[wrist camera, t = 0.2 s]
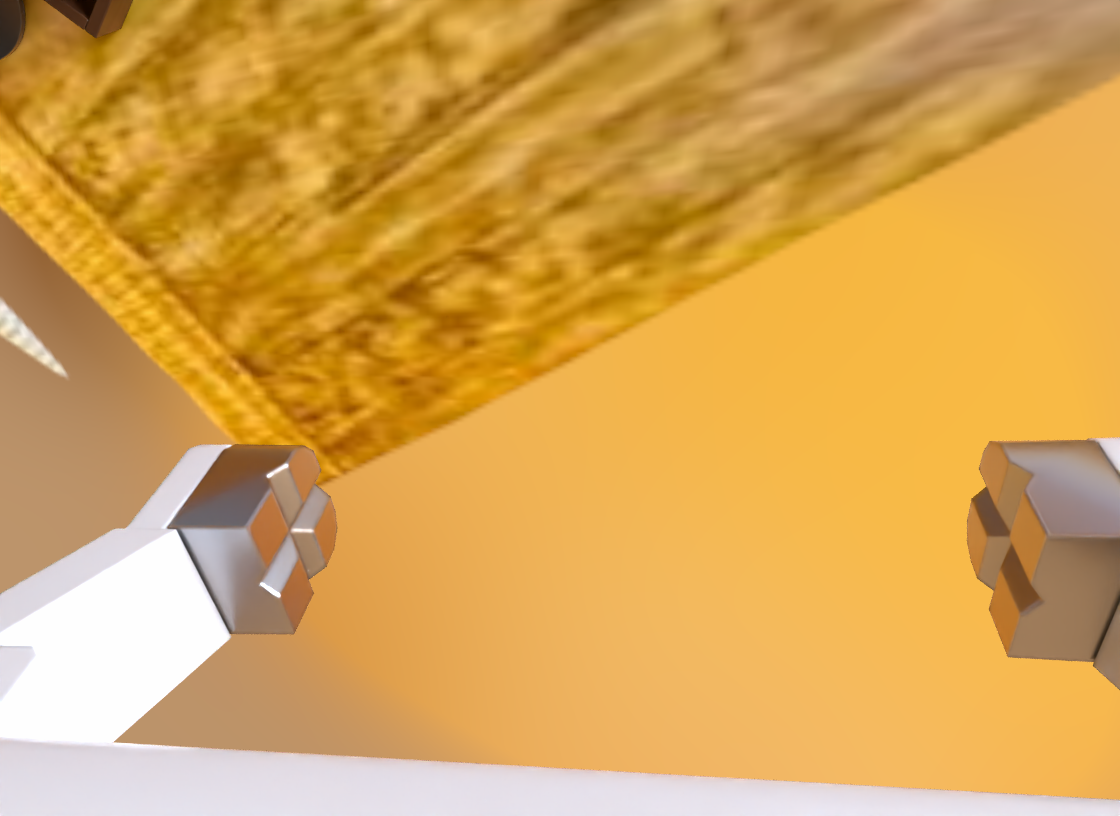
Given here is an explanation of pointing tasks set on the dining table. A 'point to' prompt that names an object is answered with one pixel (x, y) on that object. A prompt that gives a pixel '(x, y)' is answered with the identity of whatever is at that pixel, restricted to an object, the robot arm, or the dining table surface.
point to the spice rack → (94, 14)
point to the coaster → (11, 26)
